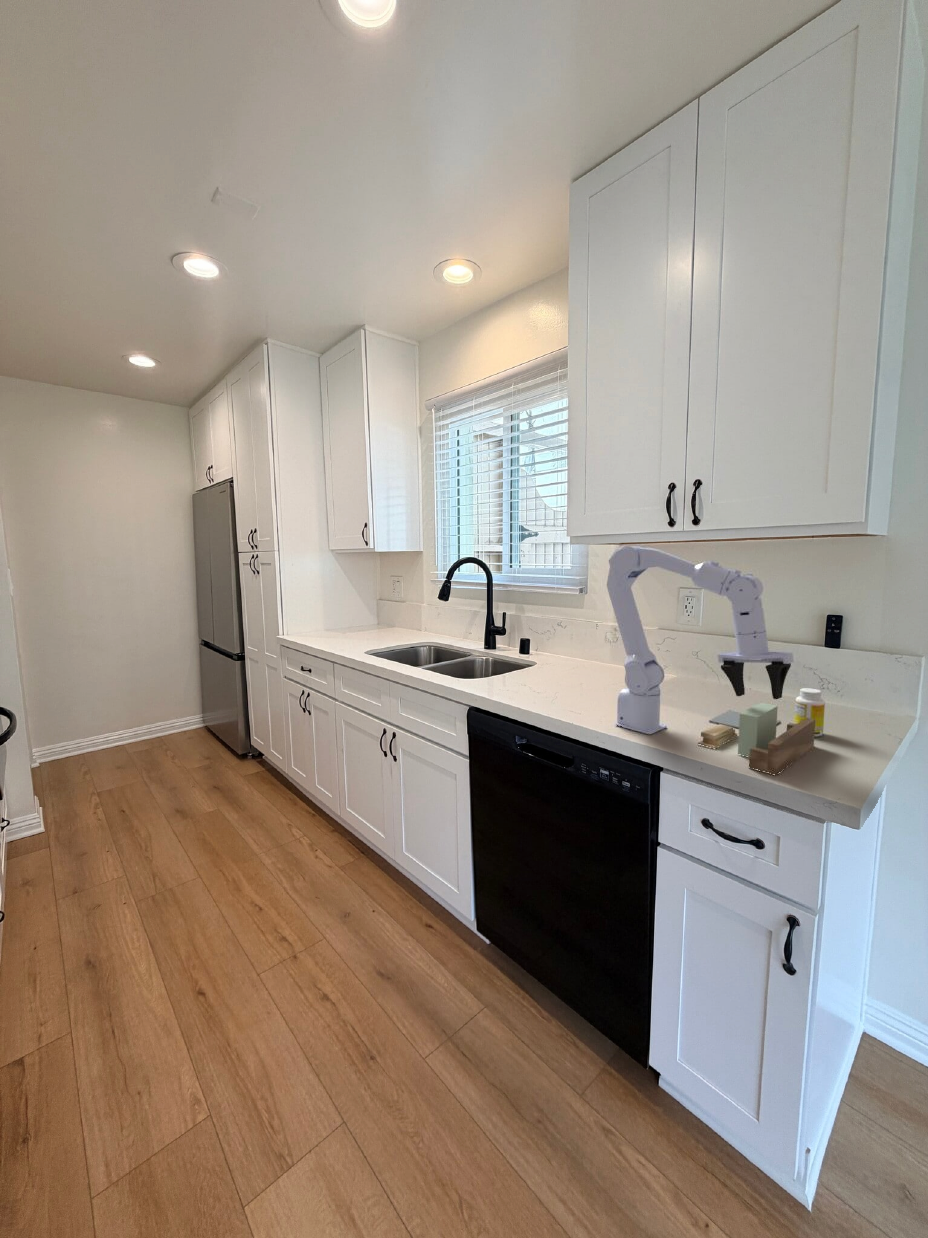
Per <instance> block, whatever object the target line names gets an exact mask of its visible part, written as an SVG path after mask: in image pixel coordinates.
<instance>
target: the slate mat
mask: <svg viewBox="0 0 928 1238" xmlns="http://www.w3.org/2000/svg"><path fill="white" fill-rule="evenodd" d="M740 713H742V711H735V710H728V711H727V710H726V712H723V713H721V714H719V715H717V716H715V717H713V718H711V719H709V720H708V722H709V723H711V722H712V723H713V724H715V723H717V724H716V725H719V724H722V725H726V726H730V727H733V729H737V730H739V720H740ZM780 723H781V720H778V719H777V725H779V724H780Z"/></svg>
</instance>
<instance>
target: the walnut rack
mask: <svg viewBox="0 0 928 1238" xmlns="http://www.w3.org/2000/svg"><path fill="white" fill-rule="evenodd" d="M814 734H815V719H812V718H805V719H804V720H802V721H801V722H799V723H798V724H794V723H791V722H789V723H787V724H786V731H785V732H783V733H781V734H780V735H779V736H776V739H774V740H773V741H771V742H770V743H769V744H768V750H764V749H760V748H756V747H752V748H750V757H749V758H748V761H749V762H748V768H749V767H750V768H754V769H758V770H760V771H765V772H769V773H771V774H775V775H777V774H778V773H779V772H781V771H782V770H783V769H785V768H786V767H787V766H788V767H789V765H790V764H791V763H792V764H793V763H795V762H796V761H797V760H798V759H800V758H801V757H802V756H803V755H805V754H806V753H808V752H809V750H811V749H812V748H813V747H814V746H815V737H814ZM792 764H791V765H792ZM791 765H790V766H791ZM788 767H787V768H788ZM787 768H786V769H787ZM786 769H785V770H786ZM760 771H759V772H760ZM783 771H784V770H783ZM783 771H782V772H783ZM782 772H781V773H782ZM778 775H779V774H778ZM778 775H777V776H778Z"/></svg>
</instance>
